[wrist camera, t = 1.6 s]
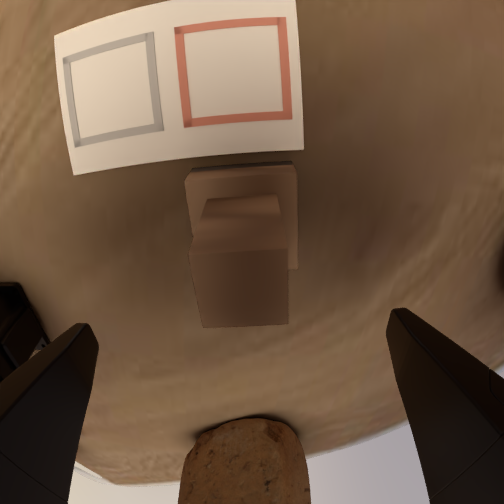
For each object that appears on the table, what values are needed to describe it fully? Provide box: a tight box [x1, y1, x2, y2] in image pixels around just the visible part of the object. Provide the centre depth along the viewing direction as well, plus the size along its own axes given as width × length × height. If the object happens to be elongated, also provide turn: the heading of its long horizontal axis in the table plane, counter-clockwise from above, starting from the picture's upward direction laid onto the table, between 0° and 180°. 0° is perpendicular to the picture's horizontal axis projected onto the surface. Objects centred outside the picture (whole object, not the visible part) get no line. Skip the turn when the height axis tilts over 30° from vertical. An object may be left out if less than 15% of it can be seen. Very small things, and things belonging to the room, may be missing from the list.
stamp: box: [184, 161, 298, 328], centre depth 13 cm, size 5×5×7 cm
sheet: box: [54, 0, 304, 175], centre depth 13 cm, size 12×8×1 cm, turn 94°
